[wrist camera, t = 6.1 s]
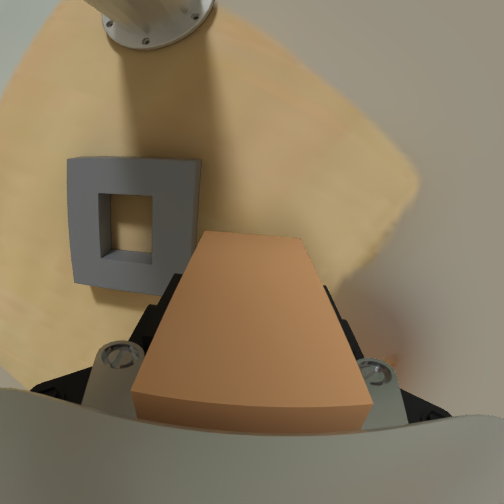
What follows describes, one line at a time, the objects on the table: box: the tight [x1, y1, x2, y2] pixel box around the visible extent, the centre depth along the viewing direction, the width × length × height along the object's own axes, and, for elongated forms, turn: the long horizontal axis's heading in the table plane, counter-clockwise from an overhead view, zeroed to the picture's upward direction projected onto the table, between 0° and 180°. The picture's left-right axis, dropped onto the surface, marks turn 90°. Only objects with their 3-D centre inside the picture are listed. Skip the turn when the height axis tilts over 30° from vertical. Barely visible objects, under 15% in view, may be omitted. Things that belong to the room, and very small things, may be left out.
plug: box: [131, 231, 374, 433], centre depth 9 cm, size 5×4×9 cm
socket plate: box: [67, 156, 202, 296], centre depth 30 cm, size 14×14×3 cm
